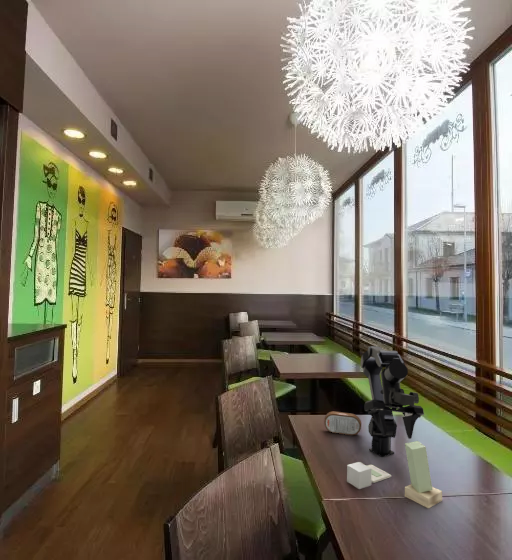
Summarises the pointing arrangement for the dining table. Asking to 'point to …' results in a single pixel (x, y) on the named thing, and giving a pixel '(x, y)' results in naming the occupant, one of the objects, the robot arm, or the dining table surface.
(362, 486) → the grey cube
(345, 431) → the tin
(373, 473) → the card
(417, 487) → the sage block
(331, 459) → the dining table surface
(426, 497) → the maple base
